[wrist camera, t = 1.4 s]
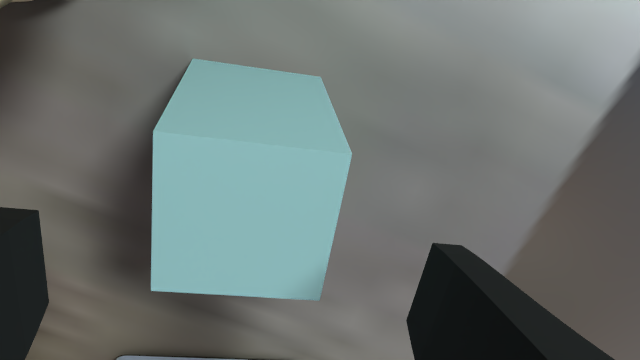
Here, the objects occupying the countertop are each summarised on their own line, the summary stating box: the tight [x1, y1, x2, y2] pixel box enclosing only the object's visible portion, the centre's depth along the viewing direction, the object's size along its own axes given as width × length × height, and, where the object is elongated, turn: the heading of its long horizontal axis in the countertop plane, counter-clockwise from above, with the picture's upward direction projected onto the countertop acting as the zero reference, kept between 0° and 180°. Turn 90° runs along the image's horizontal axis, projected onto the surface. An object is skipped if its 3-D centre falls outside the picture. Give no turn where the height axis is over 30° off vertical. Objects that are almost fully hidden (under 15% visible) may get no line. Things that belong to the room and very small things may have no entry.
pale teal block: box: [151, 59, 352, 301], centre depth 13 cm, size 4×4×6 cm
